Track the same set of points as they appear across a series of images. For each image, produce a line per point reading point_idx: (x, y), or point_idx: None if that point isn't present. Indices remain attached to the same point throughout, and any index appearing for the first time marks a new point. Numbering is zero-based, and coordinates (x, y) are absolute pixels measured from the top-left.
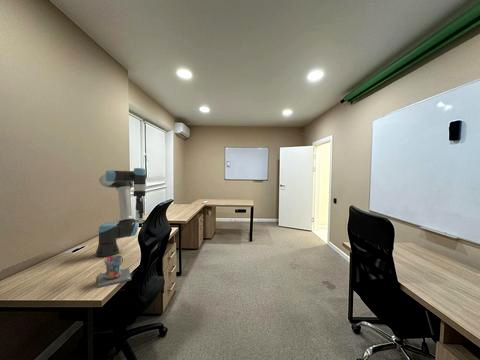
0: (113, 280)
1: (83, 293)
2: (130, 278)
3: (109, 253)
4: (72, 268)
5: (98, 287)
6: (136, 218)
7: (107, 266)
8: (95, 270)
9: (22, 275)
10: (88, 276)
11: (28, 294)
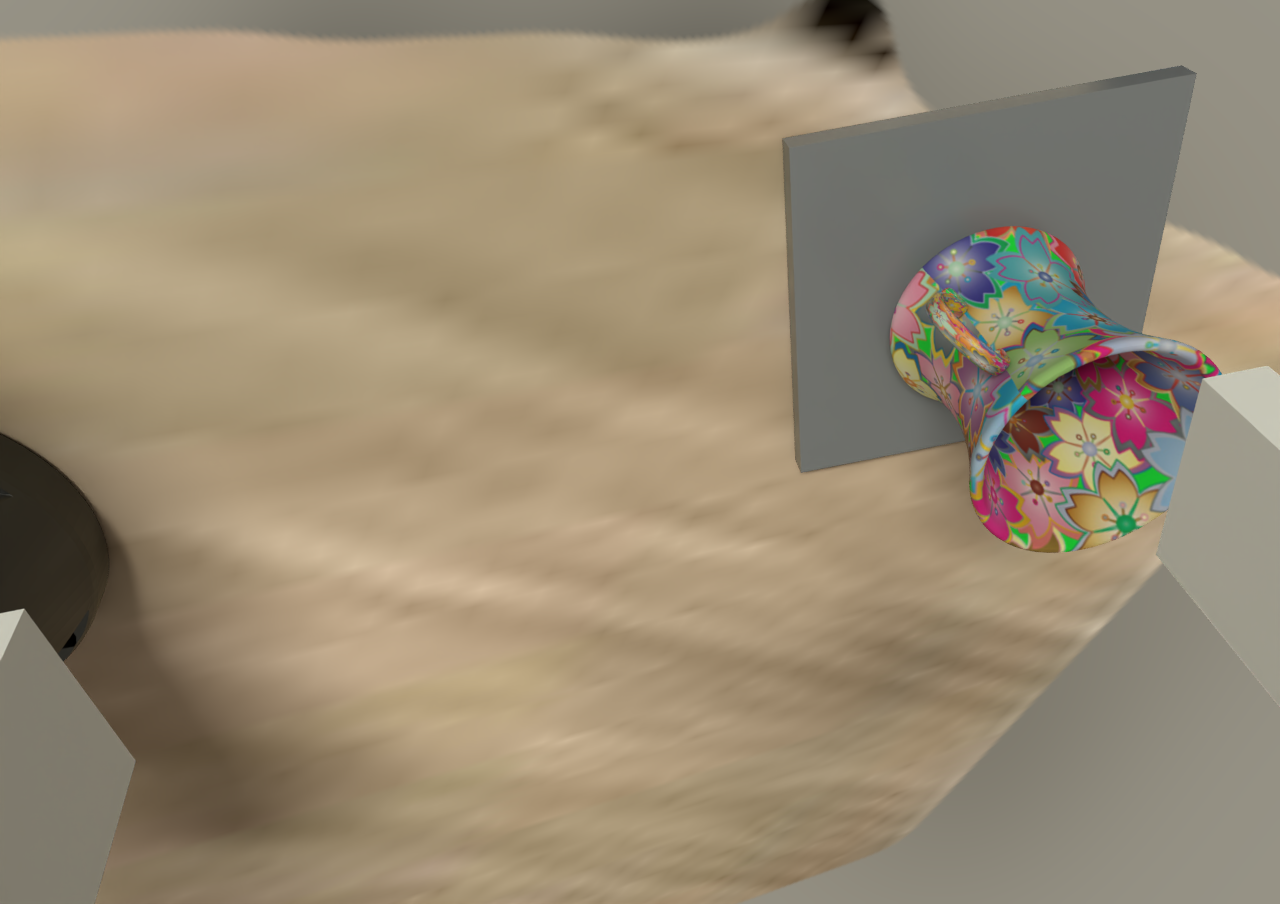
0: (1101, 284)
1: None
2: (1188, 84)
3: (63, 522)
4: (457, 722)
5: None
6: (105, 800)
7: (1100, 451)
8: (613, 522)
9: None
10: (764, 540)
11: (900, 778)
